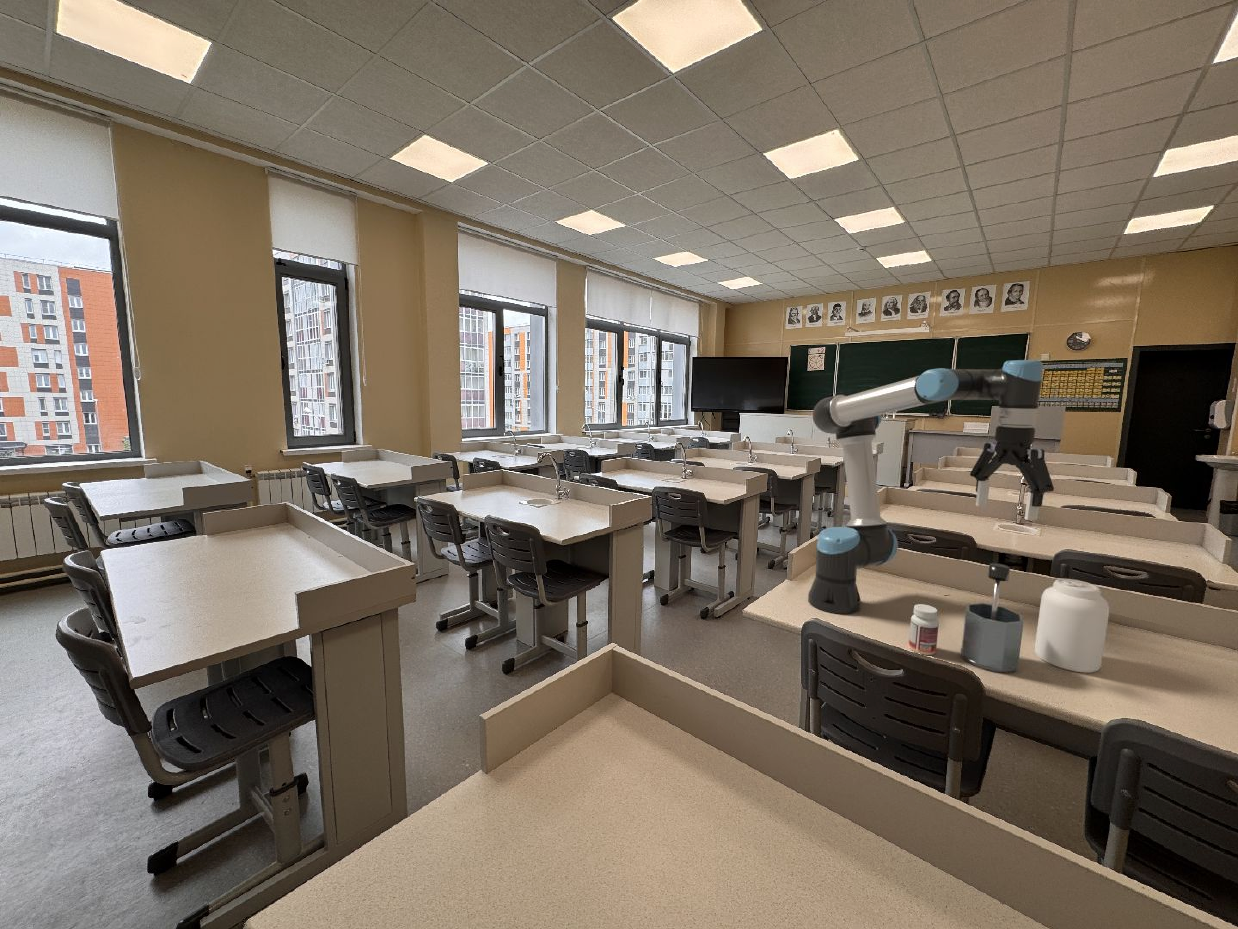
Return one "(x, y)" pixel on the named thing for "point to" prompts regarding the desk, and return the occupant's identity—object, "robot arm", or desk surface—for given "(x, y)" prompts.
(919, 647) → the pill bottle
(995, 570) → the plunger
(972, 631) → the grey octagonal container
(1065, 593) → the can
